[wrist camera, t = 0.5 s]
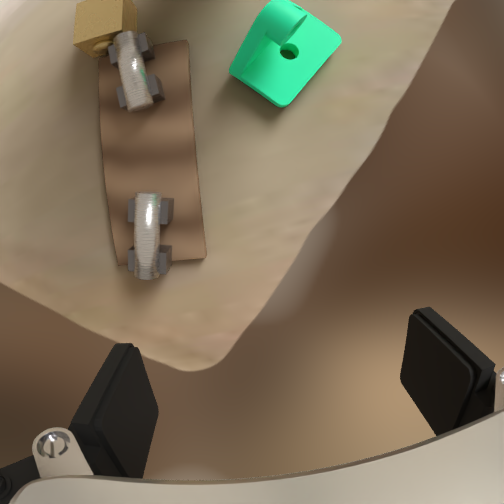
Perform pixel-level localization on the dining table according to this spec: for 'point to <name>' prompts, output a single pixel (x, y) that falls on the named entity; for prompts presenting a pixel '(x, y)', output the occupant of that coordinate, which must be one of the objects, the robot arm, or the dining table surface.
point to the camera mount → (283, 38)
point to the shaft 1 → (135, 71)
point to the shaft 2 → (149, 234)
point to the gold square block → (102, 24)
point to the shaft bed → (153, 153)
